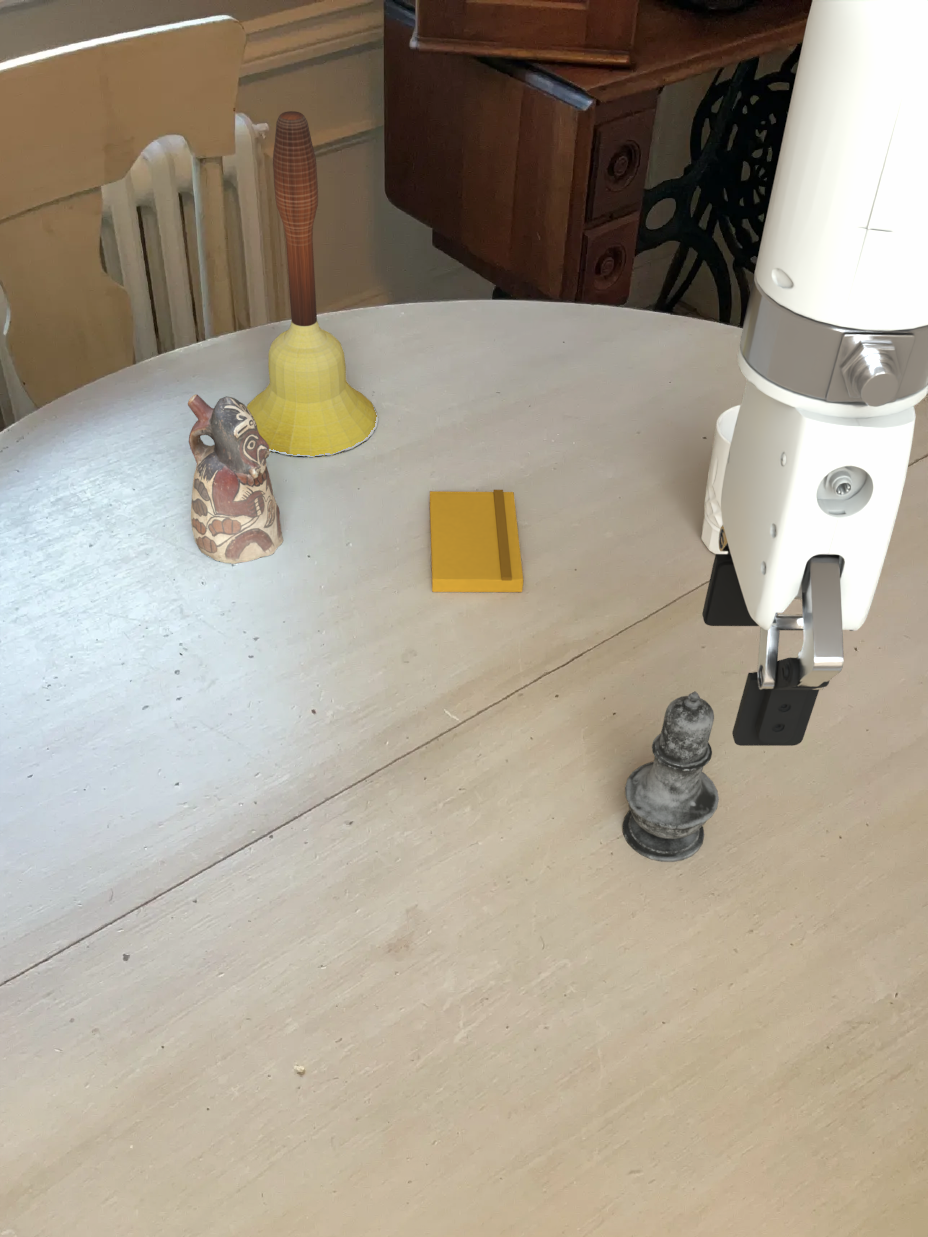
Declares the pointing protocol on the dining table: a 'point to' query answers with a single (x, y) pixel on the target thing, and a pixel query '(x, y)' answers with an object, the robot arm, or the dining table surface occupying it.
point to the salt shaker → (673, 786)
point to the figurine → (231, 485)
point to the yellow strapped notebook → (474, 542)
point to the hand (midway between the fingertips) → (748, 677)
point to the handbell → (305, 325)
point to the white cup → (717, 479)
